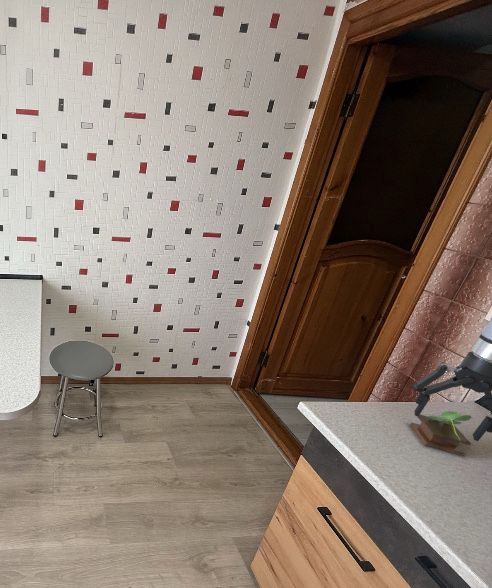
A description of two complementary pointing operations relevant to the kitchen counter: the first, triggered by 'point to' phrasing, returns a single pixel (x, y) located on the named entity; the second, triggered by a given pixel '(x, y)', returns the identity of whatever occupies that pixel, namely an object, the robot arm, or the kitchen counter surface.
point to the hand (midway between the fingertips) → (444, 425)
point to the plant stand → (439, 435)
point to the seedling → (452, 418)
